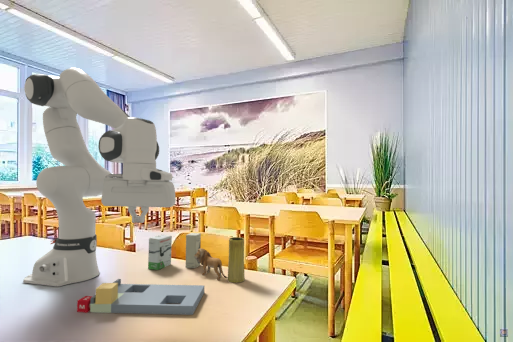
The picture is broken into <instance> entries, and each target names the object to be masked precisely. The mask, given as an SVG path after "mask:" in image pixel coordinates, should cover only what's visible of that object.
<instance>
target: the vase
mask: <svg viewBox="0 0 513 342" xmlns="http://www.w3.org/2000/svg"><path fill="white" fill-rule="evenodd" d="M227 268H228V269H227V278H226V279H227V282H229V283H233V284H239V283H243V282H244V281H246V277H245V238H244V237H239V236H238V237H237V236H236V237H235V236H234V237H230V238H228V265H227Z"/></svg>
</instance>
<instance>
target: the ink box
mask: <svg viewBox="0 0 513 342" xmlns="http://www.w3.org/2000/svg"><path fill="white" fill-rule="evenodd" d="M172 243H173V242H172V235H169V234H168V235H167V234H160V235H156V236H155V235H154V236H152V237H149V238H148V259H147V260H148V261H147V263H148V264H147V265H148V266H147V268H148V269H147V270H153V271H154V270H155V271H160V270H161V269H164V268H166V267H168V266H170V265H171V264H172Z"/></svg>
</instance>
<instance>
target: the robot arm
mask: <svg viewBox="0 0 513 342" xmlns="http://www.w3.org/2000/svg"><path fill="white" fill-rule="evenodd" d="M23 88H24V93H25V97H26V99H27V100H28V101H29V103H31V104H33V105H36V106H39V107H40V106H41V107H47V108H46V109H44V111H43V112H42V125H43V130H44V135H45V139H46V142H47V145H48V150H49V152H50V155H51V156H52V158H53V159H55V161H58V162H59V163H61V164H63V165H57V166H50V167H49V166H48V167H45V168H43V169H42V170H41V171H40V172H39V173H38V175H37V177H36V181H35V182H36V188H37V190H38V192H39V193H40V194H41V196H43V197H45V198H46V199H47V200H49V201H50V202H51V204H52V205H53V207H54V208H55V211H56V213H57V219H58V237H56V238H55V239H53V240H50V245H53V244H54V245H53V247H52V249H50V250H49V251H48V252H46V253H45V254H44V255H42V257H40V258H38V259H37V260H36V261H35V263H34V265H33V268H32V273H30V274H29V275H27V276H26V277H24V278H23V281H22V283H23V284H25V283H26V284H32V285H33V284H34V285H42V286H51V287H61V286H66V285H69V284H76V283H79V282H80V283H81V282H84V281H88V280H91V279H93V278H95V277H97V276H99V275H100V270H99V266H98V261H97V260H98V259H97V253H96V252H97V251H96V250H97V246H98V245H97V244H98V240H97V239H98V238H97V234H96V224H97V223H96V219H97V218H96V217H97V216H96V213H95V211H93V210H92V208H91V209H90V208H88V207H87V206H86V205H85V203H84V200H83V199H84V198H87V197H88V198H89V197H90V198H91V197H97V196H101V201H100V202H101V204H102V205H103V206H104V207H127V209H128V210H127V211H128V213H129V215H130V216H131V223H134V224H135V223H136V224H140V223H141V224H143V223H145V219H146V215H147V214H148V212H149V210H150V208H172V207H174V206H175V204H176V189H175V184H174V183H173V182H172V180H173V174H172V173H171V172H167V171H165V170H162V169H158V168H157V159H158V156H159V154H160V146H159V143H158V140H157V129H156V125H155V123H154V121H152V120H150V119H145V118H141V117H137V116H130V115H129V114H128V113H127V112H126V111H125V110H124V109H123V108H121V107H120V106H119V105H118V104H117V103H115V102H114V101H113V99H111V98H110V97H109V96H108V95H107V94H106V93H105V92H104V91H103V90H102V88H101V87H100V85H99V84H98V83H97V82H96V81H95V80H94V79H93V78H92V77H91V76H90V75H89V74H88V73H86V72H85V71H84V70H82V69H80V68H77V67H70V68H69V67H68V68H65V69H64V70H63V71H62V72H61V73H60V74H59V76H56V75H48V74H43V73H41V74H40V73H39V74H38V73H37V74H36V73H35V74H31V75H29V76H28V77H26V79H25V83H24V87H23ZM77 116H79V117H82V118H83V119H85V120H89V121H92V122H95V123H100V124H102V125H106V126H109V127H111V128H113V129H111V130H106V131H105V132H104V133H102V135H101V136H100V138H99V141H98V152H99V154H100V156H101V158H103V160H105V161H106V162H110V163H117V164H118V163H119V164H122V173H112V172H111V171H110V170H108V169H106V168H105V167H103V166H102V165H101V164H100V163H98V161H97V160H96V159H95V158H94V156H92V153H90V151H89V149H88V148H87V144H86V141H85V139H84V136H83V133H82V130H81V127H80V126H79V123H78V120H77ZM137 207H138V208H139V207H140V210H141V211H142V212H141V214H140V215H138V214H137V213H136V210H137Z"/></svg>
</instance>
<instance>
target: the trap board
mask: <svg viewBox="0 0 513 342" xmlns="http://www.w3.org/2000/svg"><path fill="white" fill-rule="evenodd" d="M112 283H118V298H117V299H116V300H115V301H114V302H113V303H112V304H95V302H96V294H94V295H92V296H93V297H91V301H90V311H89V312H90V313H100V314H101V313H103V314H104V313H106V314H107V313H109V314H113V313H114V314H148V315H149V314H150V315H151V314H153V315H187V316H189V315H191V316H194V314H195V311H196V310H197V308H198V306H199V304H200V301H201V300H202V298H203V296H204V295H205V285H199V284H197V285H196V284H195V285H194V284H193V285H191V284H156V283H155V284H153V283H151V284H147V283H146V284H144V283H122V280H121V278H117V279H116V280H114V281H113V282H112Z"/></svg>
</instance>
